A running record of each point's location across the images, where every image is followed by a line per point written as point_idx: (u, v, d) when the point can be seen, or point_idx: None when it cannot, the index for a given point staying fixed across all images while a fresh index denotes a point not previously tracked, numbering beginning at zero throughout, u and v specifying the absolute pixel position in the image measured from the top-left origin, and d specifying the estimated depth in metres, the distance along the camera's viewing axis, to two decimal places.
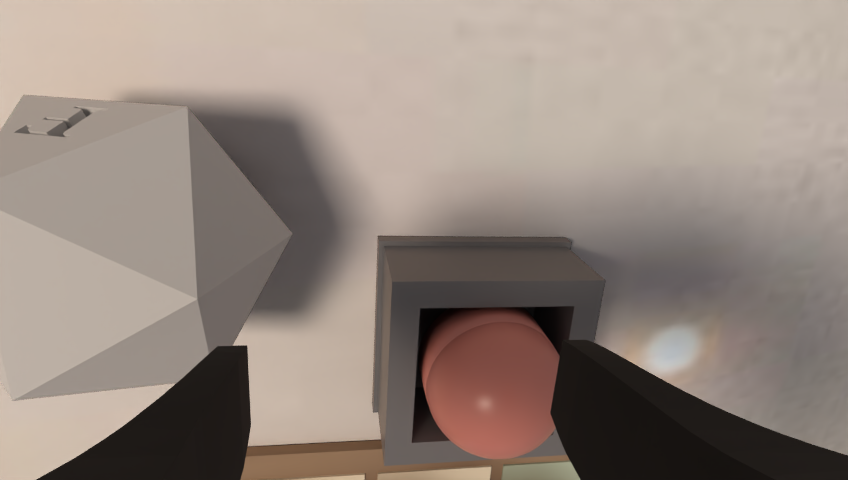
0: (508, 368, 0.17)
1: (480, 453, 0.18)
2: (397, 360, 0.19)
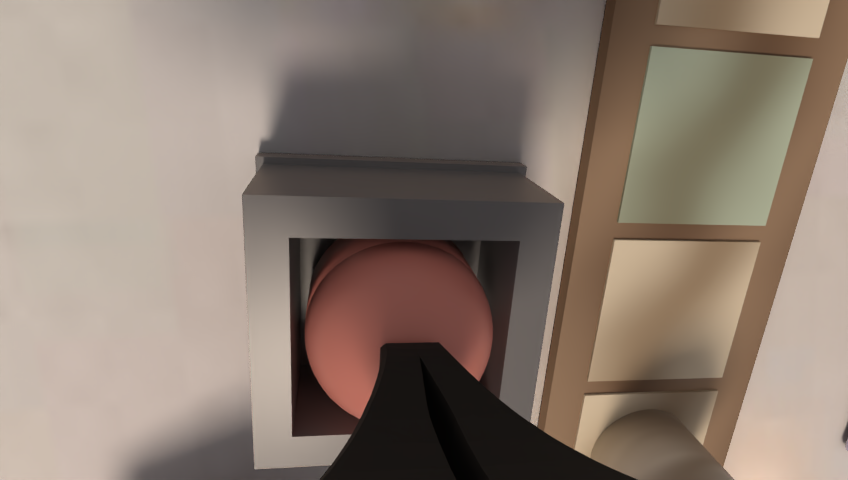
0: (332, 375, 0.13)
1: None
2: None
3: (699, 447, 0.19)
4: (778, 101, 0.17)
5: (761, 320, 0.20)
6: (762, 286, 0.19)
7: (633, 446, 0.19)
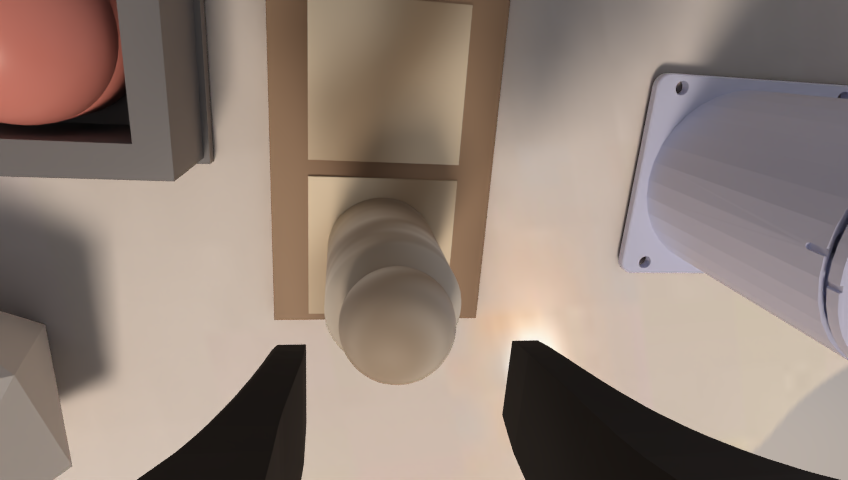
0: None
1: (39, 68, 0.13)
2: None
3: (411, 217, 0.18)
4: None
5: (492, 100, 0.19)
6: (485, 59, 0.19)
7: (348, 220, 0.18)
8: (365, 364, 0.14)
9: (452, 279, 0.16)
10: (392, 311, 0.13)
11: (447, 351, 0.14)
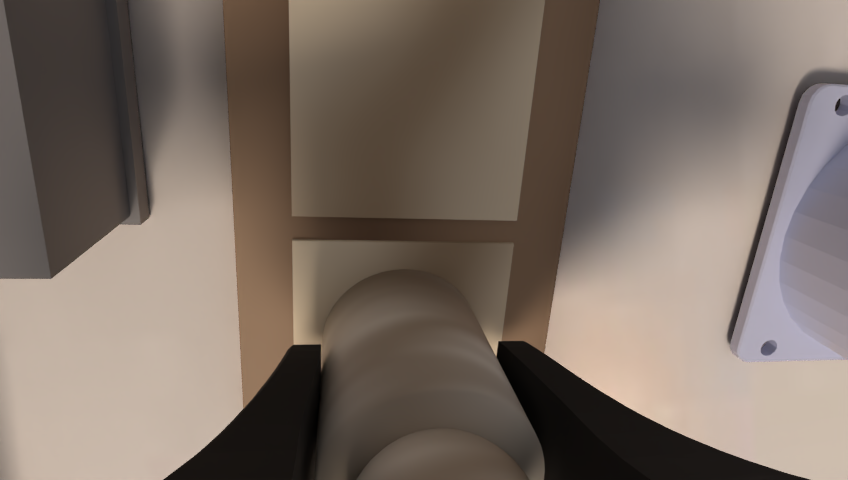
0: None
1: None
2: None
3: (451, 310, 0.12)
4: None
5: (569, 126, 0.13)
6: (562, 64, 0.12)
7: (353, 313, 0.12)
8: None
9: (531, 439, 0.09)
10: None
11: None
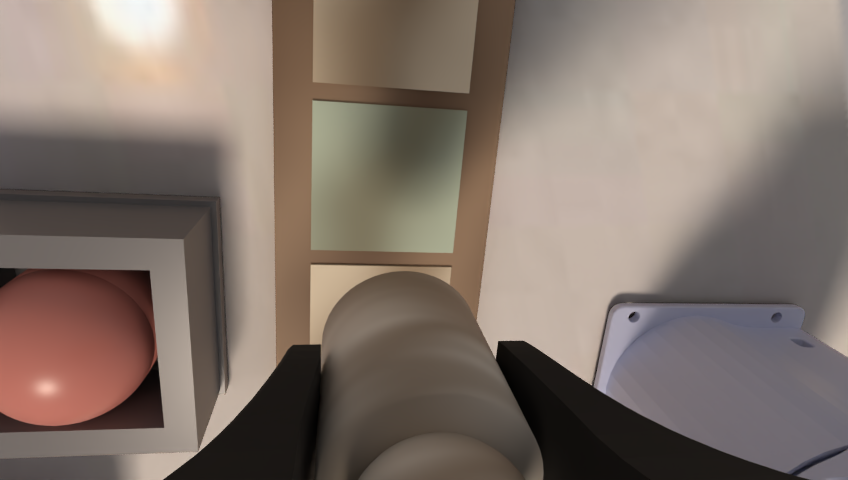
0: None
1: (94, 401, 0.16)
2: (47, 449, 0.17)
3: (450, 313, 0.12)
4: (444, 146, 0.19)
5: None
6: None
7: (352, 315, 0.12)
8: None
9: (530, 443, 0.09)
10: None
11: None
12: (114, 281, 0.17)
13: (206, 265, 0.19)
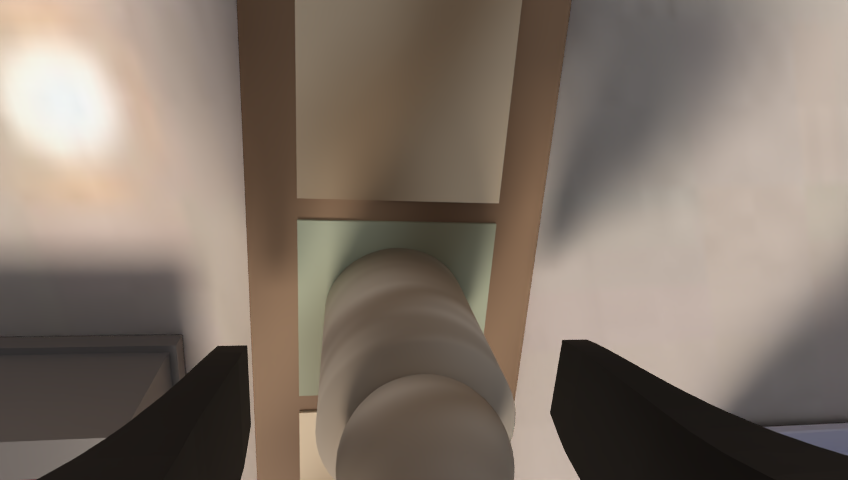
0: None
1: None
2: None
3: (438, 282, 0.13)
4: (466, 266, 0.15)
5: None
6: None
7: (352, 284, 0.13)
8: None
9: (503, 387, 0.11)
10: (420, 468, 0.08)
11: None
12: None
13: None
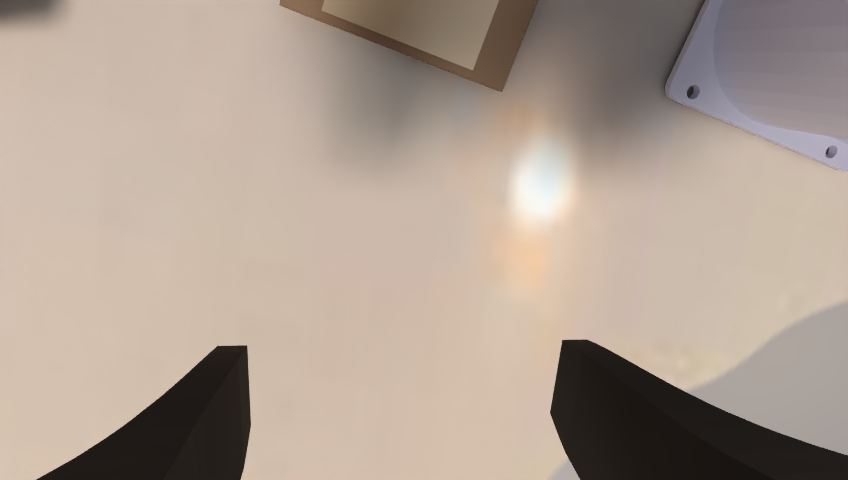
0: None
1: None
2: None
3: None
4: None
5: None
6: None
7: None
8: None
9: None
10: None
11: None
12: None
13: None
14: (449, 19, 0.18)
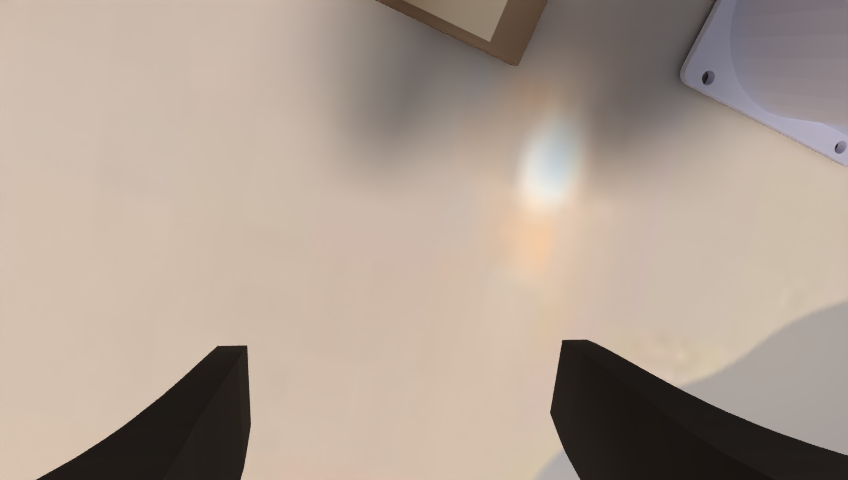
0: None
1: None
2: None
3: None
4: None
5: None
6: None
7: None
8: None
9: None
10: None
11: None
12: None
13: None
14: None
